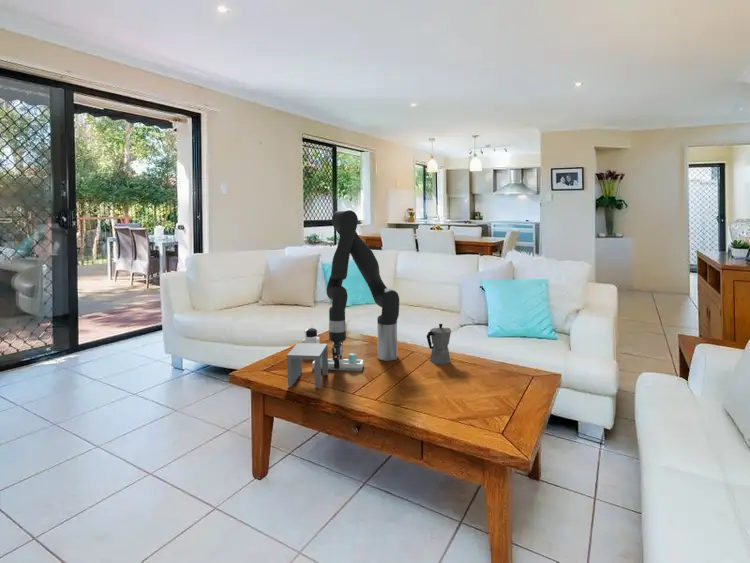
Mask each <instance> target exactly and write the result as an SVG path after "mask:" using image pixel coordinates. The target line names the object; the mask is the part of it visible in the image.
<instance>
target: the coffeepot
mask: <svg viewBox="0 0 750 563" xmlns="http://www.w3.org/2000/svg"><path fill="white" fill-rule="evenodd" d="M438 326H439V327H433V328H431V329H430V331H428V332H427V335H426V339H427V344H428V347H429V349H430V350H431V352H430V358H429V361H430V362H431V363H432V364H435V365H441V366H443V365H444V366H445V365H448V364H450V362H451V359H450V358H451V356H450V350H449V344H450V338H451V335H452V334H451V332H452V330H451V328H450V327H443V323H439V324H438Z"/></svg>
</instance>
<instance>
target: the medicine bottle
mask: <svg viewBox="0 0 750 563" xmlns="http://www.w3.org/2000/svg"><path fill="white" fill-rule="evenodd" d="M320 339H321V338H320V336H318V330H317V328H314V327H309V328H306V329H305V330H304V337H303V339H302V341H301V343H318V344H321V340H320Z"/></svg>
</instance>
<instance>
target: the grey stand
mask: <svg viewBox="0 0 750 563" xmlns="http://www.w3.org/2000/svg"><path fill="white" fill-rule="evenodd" d="M328 353H329V352H328V343H320V344H318V343H302V342H296V344H295V345H294V346H293V348H292V349H291V350H289V352H287V355H286V361H287V362H286V363H287V364H286V366H287V367H286V368H287V370H286V371H287V387H288V386H289V387H292V386H293V387H294V385H295V384H294V383H296V382H297V381H296V380H297V379H299V378H300V377H301V375H302V374H303V369H302V368H303V364H302V362H303V361H302V360H313V361H314V362H315V369H314V389H315V388H320V387H321V388H322V376H323V375H327V376H328V375H329V370H328V359H329V357H328V356H329V354H328ZM321 356H322V370H321ZM301 373H302V374H301ZM299 376H300V377H299ZM298 377H299V378H298ZM295 381H296V382H295ZM293 384H294V385H293ZM293 387H292V388H293ZM321 388H320V389H321Z"/></svg>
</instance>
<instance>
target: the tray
mask: <svg viewBox="0 0 750 563" xmlns="http://www.w3.org/2000/svg"><path fill="white" fill-rule="evenodd" d="M357 358H358V357H357V353H351V352H350V353H348V358H342V359H340V360H339V369H335V368H334V361H333V358H328V369H330V370H329V371H358V372H362V371H363V368H364V359H357ZM311 364H312V370H315V362H314V360H313V361H312V363H311ZM321 369H322V356H321Z"/></svg>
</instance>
